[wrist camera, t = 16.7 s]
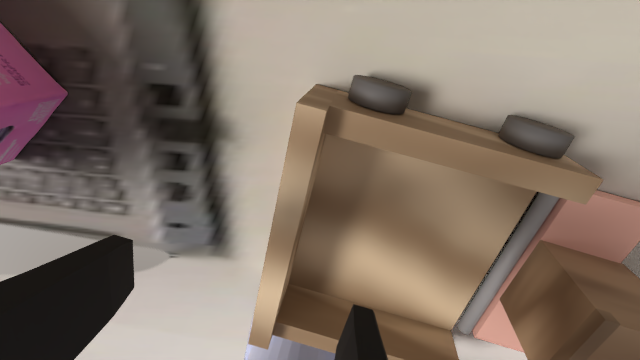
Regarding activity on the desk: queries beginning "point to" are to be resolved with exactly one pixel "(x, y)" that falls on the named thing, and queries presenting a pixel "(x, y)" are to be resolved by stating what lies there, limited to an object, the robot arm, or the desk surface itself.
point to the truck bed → (397, 216)
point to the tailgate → (558, 228)
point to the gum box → (23, 96)
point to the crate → (574, 306)
